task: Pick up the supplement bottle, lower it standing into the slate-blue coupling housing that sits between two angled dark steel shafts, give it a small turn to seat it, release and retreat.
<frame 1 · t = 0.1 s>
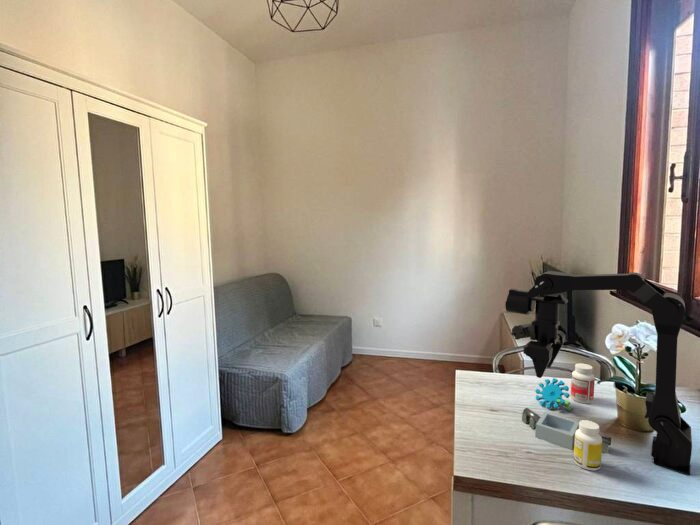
hand: (543, 372, 105), 15 cm above the table, fingers open, 9 cm apart
gear: (552, 406, 116), on the table
housing: (557, 435, 100), on the table
shaft a: (593, 446, 95), on the table
supplement bottle: (586, 464, 89), on the table
pill bottle: (581, 400, 119), on the table
shaft b: (532, 424, 105), on the table
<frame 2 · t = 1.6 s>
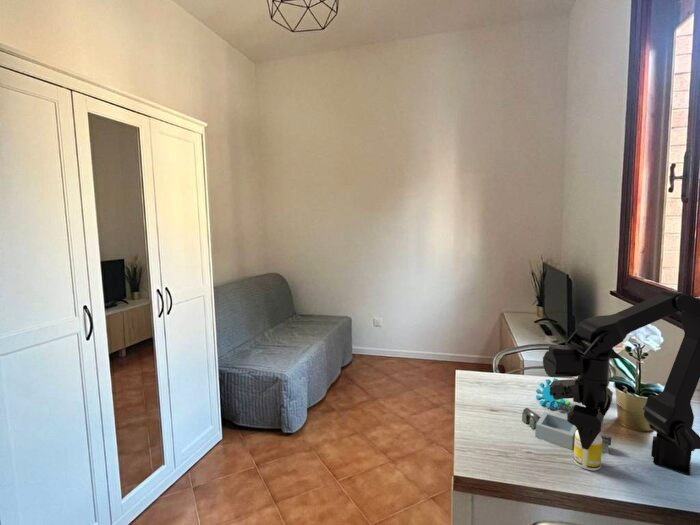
hand: (588, 439, 88), 6 cm above the table, fingers open, 9 cm apart
nothing on the table moved.
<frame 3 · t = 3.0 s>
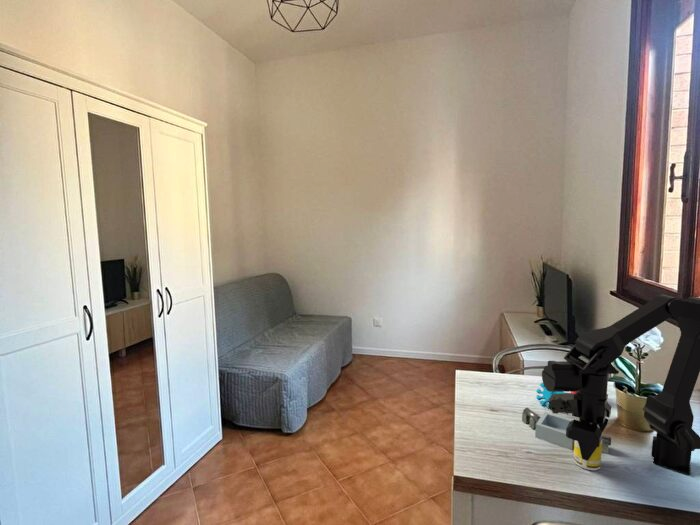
hand: (587, 453, 88), 3 cm above the table, fingers closed on supplement bottle, 5 cm apart
supplement bottle: (586, 464, 89), on the table, touching gripper
everything else where it was.
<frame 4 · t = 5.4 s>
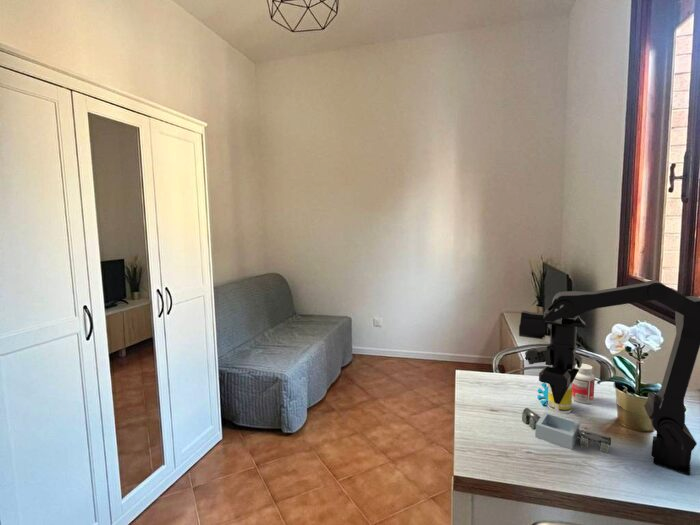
hand: (559, 399, 98), 10 cm above the table, fingers closed on supplement bottle, 5 cm apart
supplement bottle: (559, 409, 99), point 7 cm above the table, touching gripper
everything else where it was.
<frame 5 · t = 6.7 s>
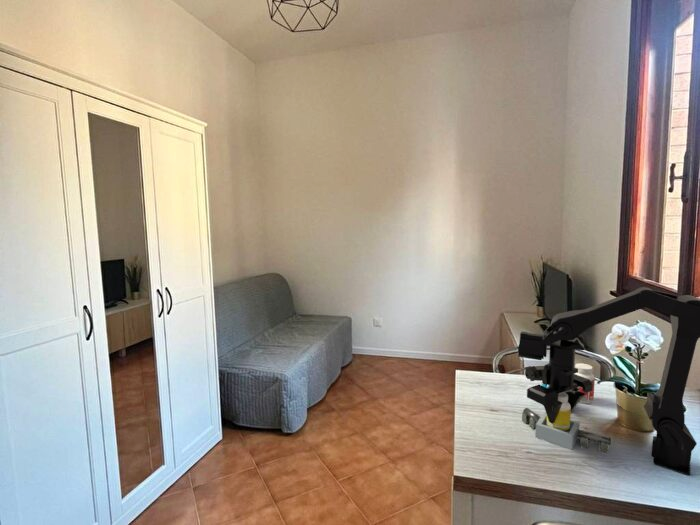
hand: (558, 419, 99), 5 cm above the table, fingers closed on supplement bottle, 5 cm apart
supplement bottle: (557, 429, 100), point 2 cm above the table, touching gripper
everything else where it was.
when the fingers open (5 cm above the table, at t = 7.8 s): supplement bottle stays where it is, resting on housing.
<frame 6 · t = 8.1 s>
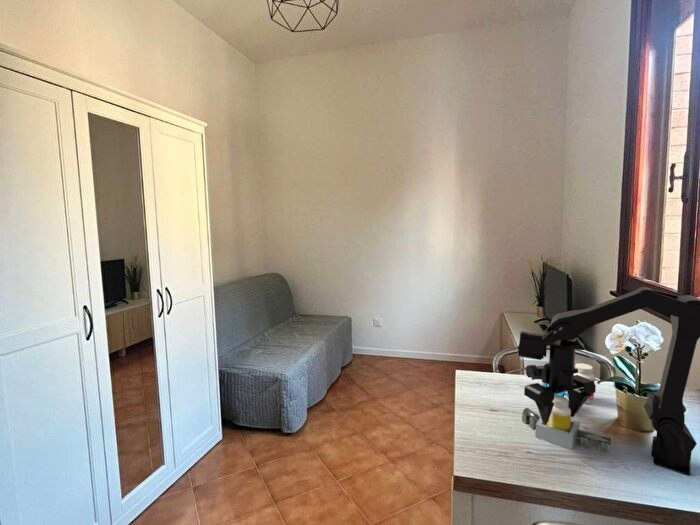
hand: (558, 419, 99), 5 cm above the table, fingers open, 9 cm apart
supplement bottle: (557, 434, 100), resting on housing
everything else where it was.
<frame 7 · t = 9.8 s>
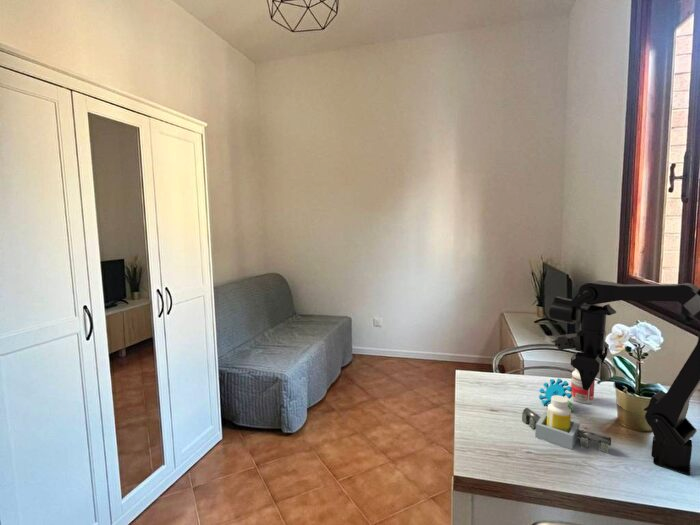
hand: (588, 383, 102), 12 cm above the table, fingers open, 9 cm apart
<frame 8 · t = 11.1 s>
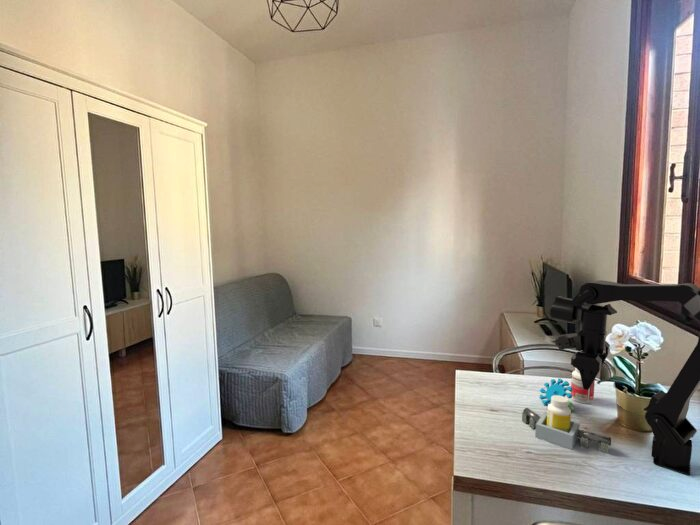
hand: (589, 383, 102), 13 cm above the table, fingers open, 9 cm apart
at the end: supplement bottle 0.1 cm off-centre on the housing, point 0.4 cm above the housing's base; supplement bottle tilted 0°; the gripper is holding nothing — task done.
